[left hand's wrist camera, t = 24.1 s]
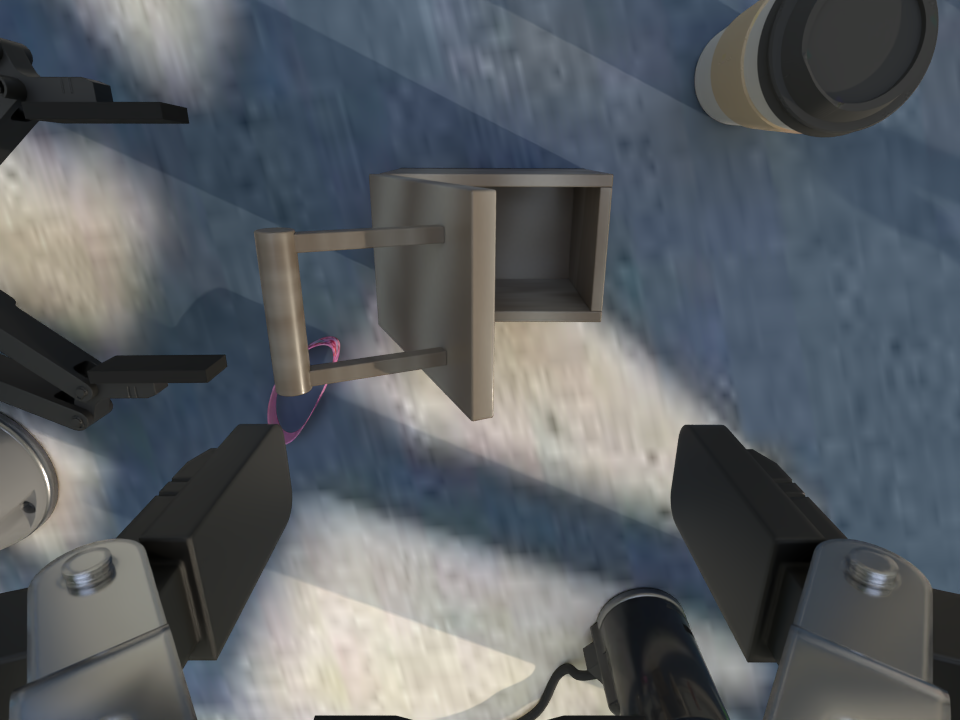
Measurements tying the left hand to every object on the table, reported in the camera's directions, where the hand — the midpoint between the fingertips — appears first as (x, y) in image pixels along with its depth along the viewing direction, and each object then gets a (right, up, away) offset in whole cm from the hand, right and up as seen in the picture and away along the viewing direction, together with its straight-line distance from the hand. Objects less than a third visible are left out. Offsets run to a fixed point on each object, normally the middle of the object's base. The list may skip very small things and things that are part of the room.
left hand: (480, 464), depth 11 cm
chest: (+1, +13, +34) cm, 37 cm away
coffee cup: (+19, +23, +30) cm, 43 cm away
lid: (-3, +7, +17) cm, 19 cm away
